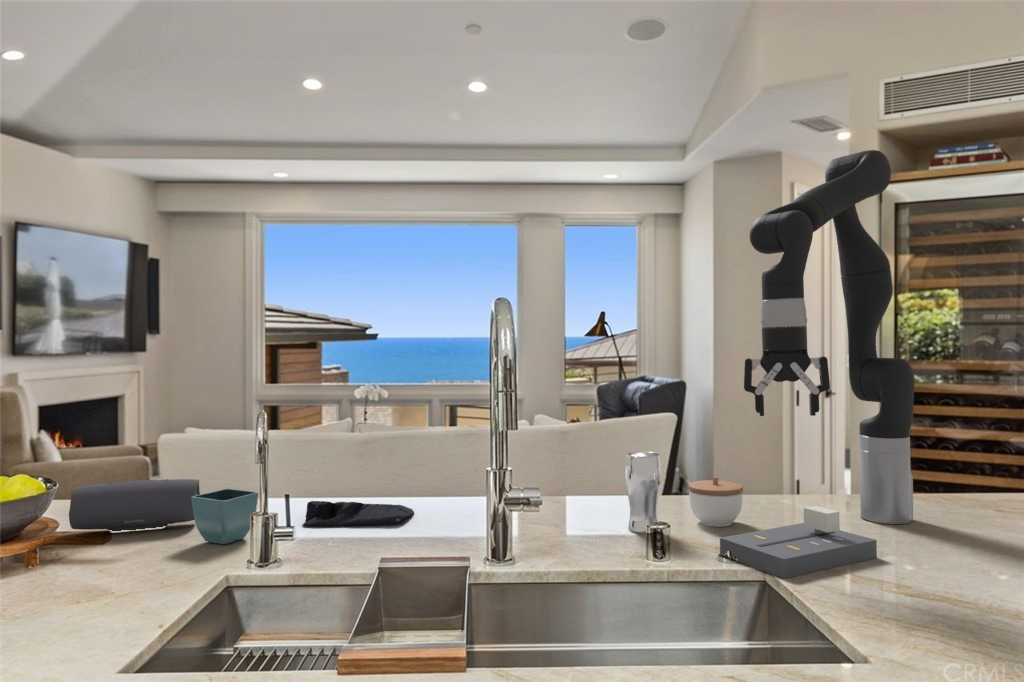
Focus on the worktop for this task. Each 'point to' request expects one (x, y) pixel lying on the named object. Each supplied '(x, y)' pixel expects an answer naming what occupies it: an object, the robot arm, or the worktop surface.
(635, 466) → the beer glass
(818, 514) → the fader knob
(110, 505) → the bluetooth speaker
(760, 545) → the panel
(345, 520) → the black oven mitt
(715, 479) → the lidded jar
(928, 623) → the worktop surface
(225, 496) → the flower pot
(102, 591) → the worktop surface
